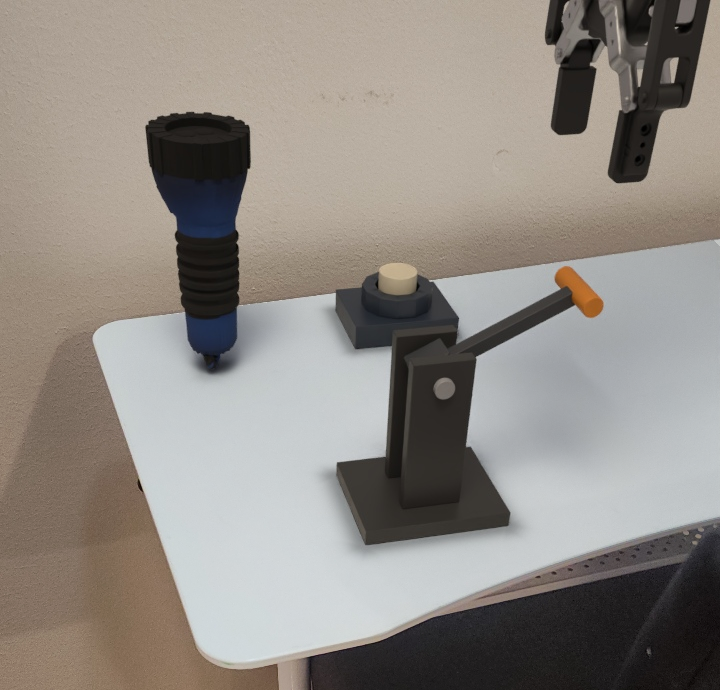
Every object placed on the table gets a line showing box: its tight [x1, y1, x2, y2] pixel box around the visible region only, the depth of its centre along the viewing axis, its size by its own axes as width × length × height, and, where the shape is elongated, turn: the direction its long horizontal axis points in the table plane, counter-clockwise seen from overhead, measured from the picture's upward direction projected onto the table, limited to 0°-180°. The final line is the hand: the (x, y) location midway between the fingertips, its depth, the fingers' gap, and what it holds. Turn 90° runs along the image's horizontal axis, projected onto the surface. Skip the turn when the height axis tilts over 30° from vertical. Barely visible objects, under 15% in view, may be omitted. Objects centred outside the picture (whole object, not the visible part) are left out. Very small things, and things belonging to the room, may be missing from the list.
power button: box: [378, 262, 418, 295], centre depth 93 cm, size 4×4×2 cm
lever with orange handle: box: [404, 265, 605, 369], centre depth 68 cm, size 13×5×2 cm, turn 104°
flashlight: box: [144, 111, 252, 370], centre depth 83 cm, size 8×8×20 cm
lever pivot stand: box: [336, 325, 511, 546], centre depth 72 cm, size 11×9×13 cm
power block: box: [335, 271, 460, 350], centre depth 95 cm, size 10×8×4 cm
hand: (595, 155), depth 60 cm, fingers open, 8 cm apart
